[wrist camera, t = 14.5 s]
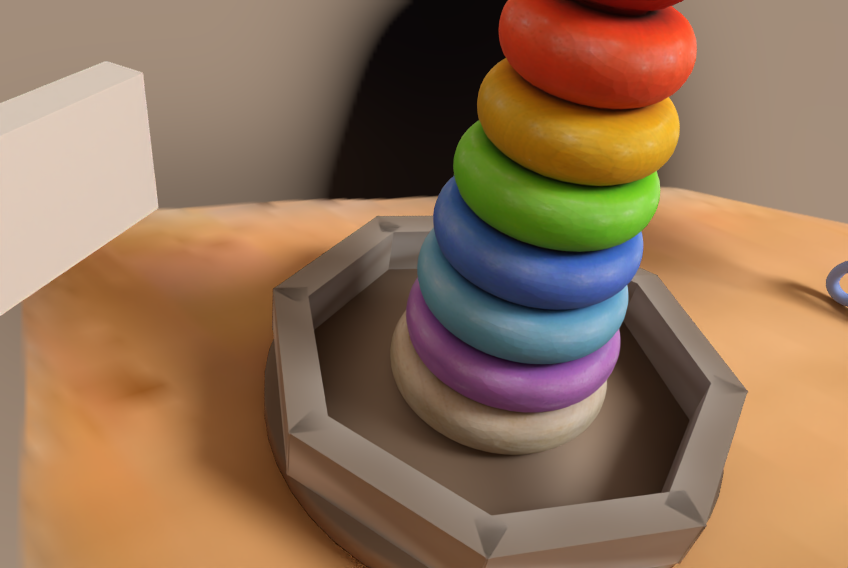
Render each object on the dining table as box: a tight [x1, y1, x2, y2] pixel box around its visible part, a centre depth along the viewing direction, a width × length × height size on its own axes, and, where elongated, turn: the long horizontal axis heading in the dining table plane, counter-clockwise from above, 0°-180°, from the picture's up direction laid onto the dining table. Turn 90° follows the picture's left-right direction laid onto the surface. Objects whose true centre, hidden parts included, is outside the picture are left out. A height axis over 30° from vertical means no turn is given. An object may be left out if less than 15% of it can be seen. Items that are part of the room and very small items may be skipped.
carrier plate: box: [265, 216, 748, 568], centre depth 26 cm, size 17×17×3 cm
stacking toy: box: [390, 0, 697, 455], centre depth 20 cm, size 8×8×19 cm
